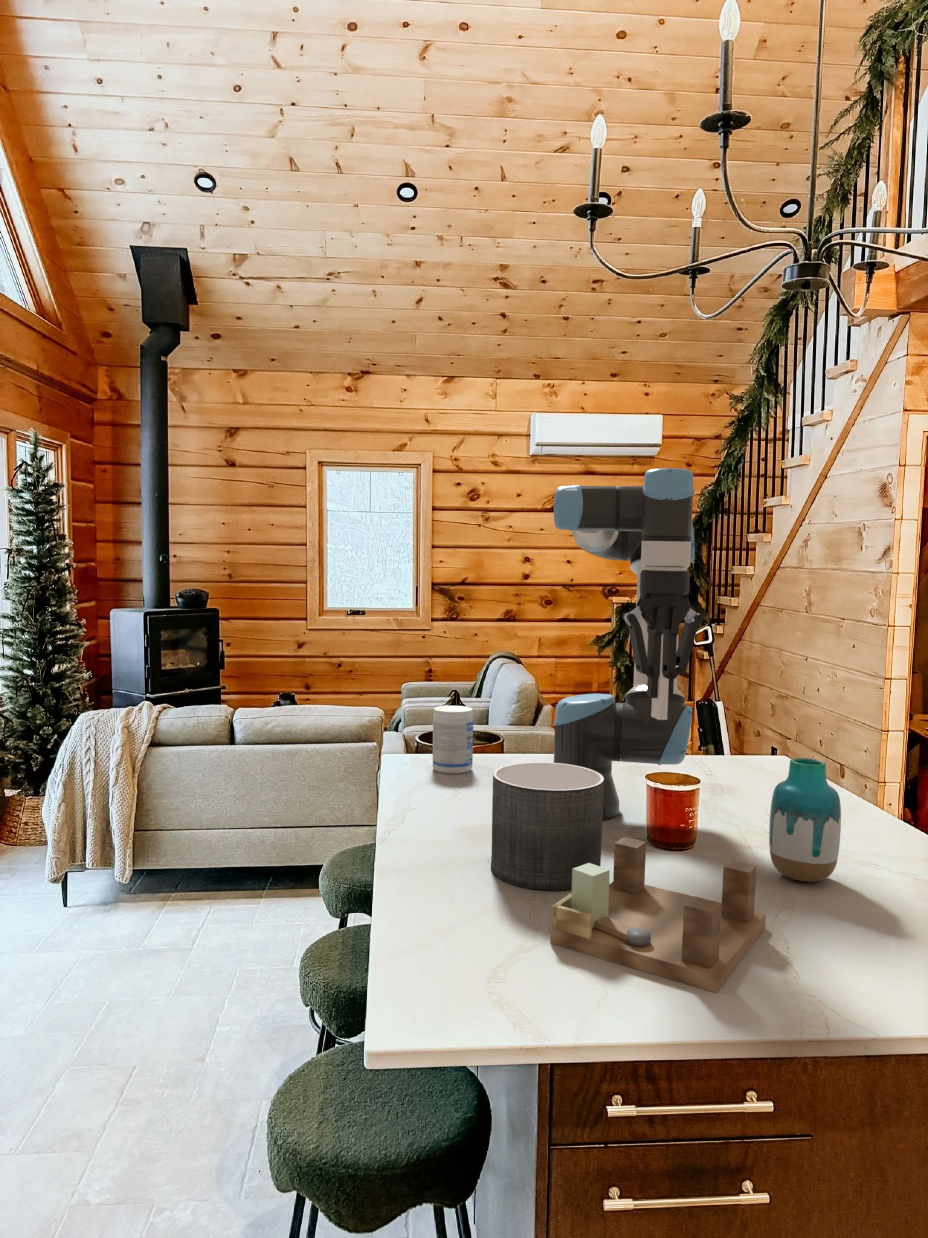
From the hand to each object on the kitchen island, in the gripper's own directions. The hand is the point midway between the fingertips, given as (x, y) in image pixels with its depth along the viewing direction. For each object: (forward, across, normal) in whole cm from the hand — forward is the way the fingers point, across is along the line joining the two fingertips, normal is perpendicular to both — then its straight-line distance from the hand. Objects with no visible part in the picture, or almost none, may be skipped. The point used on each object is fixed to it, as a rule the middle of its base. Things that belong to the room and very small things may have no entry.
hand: (659, 717), depth 136 cm
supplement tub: (+27, +20, -71) cm, 78 cm away
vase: (+26, -24, +5) cm, 35 cm away
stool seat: (+25, +8, +21) cm, 34 cm away
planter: (+26, +17, -4) cm, 31 cm away
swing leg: (+23, +16, +23) cm, 36 cm away
